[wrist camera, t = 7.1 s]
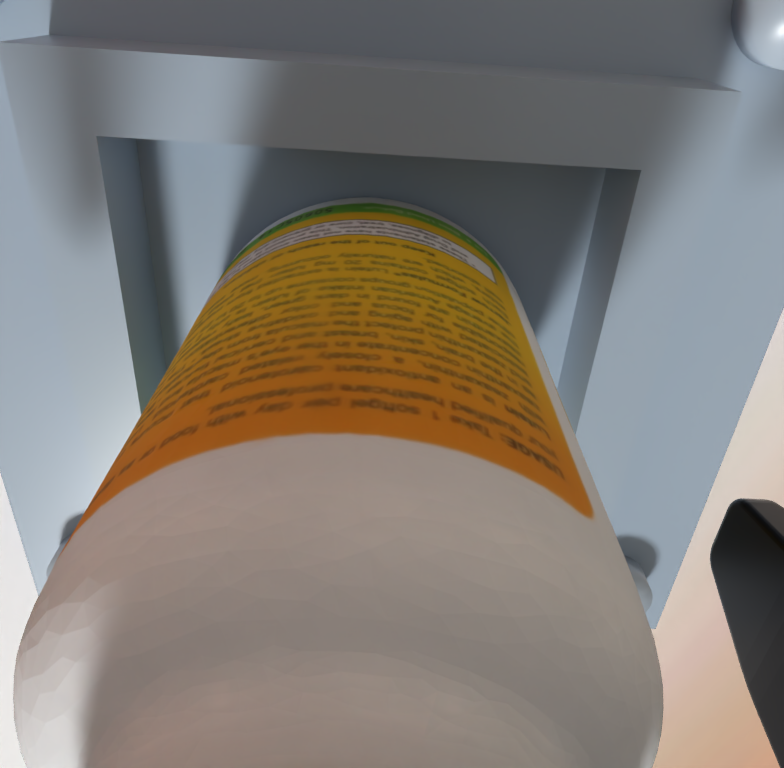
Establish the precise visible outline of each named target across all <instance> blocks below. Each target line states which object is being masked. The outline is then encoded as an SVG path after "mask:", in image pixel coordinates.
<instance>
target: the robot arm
mask: <svg viewBox="0 0 784 768" xmlns="http://www.w3.org/2000/svg"><path fill="white" fill-rule="evenodd" d="M710 562H711V568H712V572H713V576H714V579H715V582H716V586H717V589H718V592H719V596H720V599H721V602H722V606H723V609H724V612H725V616H726V619H727V622H728V626H729V629H730V633H731V636H732V639H733V643H734V646H735V649H736V653H737V656H738V659H739V663H740V666H741V669H742V672H743V675H744V678H745V681H746V684H747V687H748V690H749V692H750V695H751V697H752V700H753V703H754V705H755V708H756V710H757V713H758V715H759V717H760V720H761V722H762V725H763V727H764V729H765V732H766V734H767V737H768V739H769V741H770V744H771V746H772V749H773V751H774V754H775V756H776V758H777V761H778V763H779V766H780V768H784V508H783V507H781V506H780V505H778V504H777V503H775V502H773V501H770V500H763V499H737V500H735V501H733V502H732V503H731V504H730V506H729V507H728V509H727V512H726V514H725V517H724V519H723V521H722V524H721V526H720V528H719V531H718V533H717V535H716V538H715V540H714V543H713V545H712V548H711V553H710Z"/></svg>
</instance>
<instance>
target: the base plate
mask: <svg viewBox="0 0 784 768" xmlns="http://www.w3.org/2000/svg"><path fill="white" fill-rule="evenodd" d="M356 197H373V198H382V199H390V200H396V201H401V202H405V203H409V204H413V205H416V206H419V207H421V208H424V209H427V210H430V211H432V212H434V213H436V214H438V215H440V216H442V217H444V218H446V219H448V220H450V221H451V222H453V223H455V224H457V225H458V226H460V227H461V228H463V229H464V230H465V231H467V232H468V233H469V234H471V235H472V236H473V237H474V238H476V239H477V240H478V241H479V242H480V243H481V244H483V245H484V246H485V247H486V248H487V249H488V250H489V252H490V253H491V254H492V255H493V256H494V257H495V258H496V259H497V261H498V262H499V263H500V264H501V266H502V267H503V269H504V270H505V272H506V274H507V275H508V277H509V279H510V281H511V282H512V284H513V286H514V288H515V289H516V291H517V294H518V296H519V298H520V300H521V303H522V305H523V307H524V310H525V312H526V315H527V317H528V320H529V322H530V325H531V327H532V329H533V331H534V334H535V337H536V339H537V342H538V344H539V346H540V349H541V352H542V354H543V357H544V359H545V361H546V364H547V367H548V369H549V372H550V374H551V377H552V379H553V382H554V384H555V387H556V389H557V392H558V394H559V397H560V399H561V402H562V404H563V407H564V409H565V412H566V414H567V417H568V419H569V422H570V424H571V427H572V429H573V432H574V434H575V437H576V439H577V442H578V444H579V446H580V449H581V451H582V454H583V456H584V459H585V461H586V464H587V466H588V468H589V471H590V473H591V476H592V478H593V481H594V483H595V486H596V488H597V491H598V493H599V496H600V498H601V501H602V503H603V506H604V508H605V511H606V513H607V515H608V518H609V520H610V522H611V525H612V527H613V530H614V532H615V535H616V537H617V540H618V542H619V545H620V547H621V549H622V552H623V554H624V557H625V559H626V562H627V564H628V567H629V569H630V572H631V575H632V577H633V580H634V582H635V585H636V587H637V590H638V593H639V596H640V599H641V602H642V605H643V608H644V611H645V614H646V617H647V620H648V623H649V626H650V629H656V626H657V624H658V621H659V619H660V616H661V614H662V611H663V609H664V606H665V604H666V601H667V599H668V596H669V594H670V591H671V589H672V586H673V584H674V581H675V579H676V576H677V574H678V571H679V569H680V566H681V564H682V561H683V559H684V556H685V553H686V551H687V548H688V546H689V543H690V541H691V538H692V536H693V533H694V531H695V528H696V526H697V523H698V521H699V518H700V516H701V513H702V511H703V508H704V506H705V503H706V501H707V498H708V496H709V493H710V491H711V488H712V486H713V483H714V481H715V478H716V476H717V473H718V471H719V468H720V466H721V463H722V461H723V458H724V456H725V453H726V451H727V448H728V446H729V443H730V441H731V438H732V436H733V433H734V431H735V428H736V426H737V423H738V420H739V418H740V415H741V413H742V410H743V408H744V405H745V403H746V400H747V398H748V395H749V393H750V390H751V388H752V385H753V383H754V380H755V378H756V375H757V373H758V370H759V368H760V365H761V363H762V360H763V358H764V355H765V353H766V350H767V348H768V345H769V343H770V340H771V338H772V335H773V333H774V330H775V328H776V325H777V323H778V320H779V318H780V315H781V313H782V310H783V308H784V0H0V473H1V476H2V479H3V482H4V486H5V489H6V492H7V495H8V499H9V502H10V505H11V508H12V511H13V515H14V518H15V521H16V524H17V528H18V531H19V534H20V537H21V541H22V544H23V547H24V550H25V554H26V557H27V560H28V563H29V566H30V570H31V573H32V576H33V579H34V583H35V586H36V589H37V592H38V596H39V595H40V593H41V591H42V589H43V587H44V585H45V583H46V581H47V579H48V577H49V575H50V573H51V571H52V569H53V566H54V564H55V562H56V560H57V559H58V557H59V555H60V554H61V552H62V550H63V548H64V547H65V545H66V543H67V542H68V540H69V538H70V537H71V535H72V533H73V531H74V530H75V528H76V526H77V525H78V523H79V521H80V520H81V518H82V516H83V514H84V513H85V511H86V509H87V508H88V506H89V504H90V502H91V501H92V499H93V497H94V495H95V494H96V492H97V490H98V489H99V487H100V485H101V483H102V482H103V480H104V478H105V476H106V475H107V473H108V471H109V470H110V468H111V466H112V464H113V463H114V461H115V459H116V458H117V456H118V454H119V453H120V451H121V449H122V448H123V446H124V444H125V443H126V441H127V439H128V437H129V436H130V434H131V432H132V430H133V429H134V427H135V425H136V423H137V422H138V420H139V418H140V416H141V415H142V413H143V411H144V409H145V408H146V406H147V404H148V403H149V401H150V399H151V397H152V396H153V394H154V392H155V390H156V389H157V387H158V385H159V383H160V382H161V380H162V378H163V376H164V375H165V373H166V371H167V370H168V368H169V366H170V364H171V363H172V361H173V359H174V358H175V356H176V354H177V352H178V351H179V349H180V347H181V346H182V344H183V342H184V340H185V338H186V337H187V335H188V333H189V331H190V329H191V328H192V326H193V324H194V322H195V321H196V319H197V317H198V316H199V314H200V312H201V310H202V308H203V307H204V305H205V303H206V301H207V299H208V298H209V296H210V294H211V293H212V291H213V289H214V287H215V286H216V284H217V282H218V281H219V279H220V277H221V276H222V274H223V273H224V271H225V270H226V269H227V267H228V266H229V265H230V263H231V262H232V261H233V259H234V258H235V257H236V255H237V254H238V253H239V252H240V251H241V250H242V249H243V248H244V247H245V246H246V245H247V244H248V243H249V242H250V241H251V240H252V239H253V238H254V237H255V236H256V235H258V234H259V233H260V232H262V231H263V230H264V229H265V228H267V227H268V226H270V225H271V224H273V223H274V222H276V221H278V220H279V219H281V218H284V217H286V216H288V215H290V214H292V213H294V212H296V211H299V210H301V209H304V208H306V207H309V206H313V205H316V204H320V203H323V202H328V201H333V200H339V199H346V198H356Z"/></svg>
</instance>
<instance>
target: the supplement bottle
mask: <svg viewBox="0 0 784 768" xmlns="http://www.w3.org/2000/svg"><path fill="white" fill-rule="evenodd" d="M13 701H14V721H15V726H16V731H17V736H18V741H19V745H20V750H21V754H22V756H23V759H24V761H25V764H26V766H27V768H652V767H653V764H654V760H655V757H656V754H657V751H658V746H659V741H660V737H661V729H662V719H663V684H662V677H661V671H660V665H659V660H658V656H657V651H656V646H655V641H654V638H653V635H652V632H651V629H650V626H649V623H648V620H647V617H646V614H645V611H644V608H643V605H642V602H641V599H640V596H639V593H638V590H637V587H636V585H635V582H634V580H633V577H632V575H631V572H630V569H629V567H628V564H627V562H626V559H625V557H624V554H623V552H622V549H621V547H620V545H619V542H618V540H617V537H616V535H615V532H614V530H613V527H612V525H611V522H610V520H609V518H608V515H607V513H606V511H605V508H604V506H603V503H602V501H601V498H600V496H599V493H598V491H597V488H596V486H595V483H594V481H593V478H592V476H591V473H590V471H589V468H588V466H587V464H586V461H585V459H584V456H583V454H582V451H581V449H580V446H579V444H578V442H577V439H576V437H575V434H574V432H573V429H572V427H571V424H570V422H569V419H568V417H567V414H566V412H565V409H564V407H563V404H562V402H561V399H560V397H559V394H558V392H557V389H556V387H555V384H554V382H553V379H552V377H551V374H550V372H549V369H548V367H547V364H546V361H545V359H544V357H543V354H542V352H541V349H540V346H539V344H538V342H537V339H536V337H535V334H534V331H533V329H532V327H531V325H530V322H529V320H528V317H527V315H526V312H525V310H524V307H523V305H522V303H521V300H520V298H519V296H518V294H517V291H516V289H515V288H514V286H513V284H512V282H511V281H510V279H509V277H508V275H507V274H506V272H505V270H504V269H503V267H502V266H501V264H500V263H499V262H498V261H497V259H496V258H495V257H494V256H493V255H492V254H491V253H490V252H489V250H488V249H487V248H486V247H485V246H484V245H483V244H481V243H480V242H479V241H478V240H477V239H476V238H474V237H473V236H472V235H471V234H469V233H468V232H467V231H465V230H464V229H463V228H461V227H460V226H458V225H457V224H455V223H453V222H451V221H450V220H448V219H446V218H444V217H442V216H440V215H438V214H436V213H434V212H432V211H430V210H427V209H424V208H421V207H419V206H416V205H413V204H409V203H405V202H401V201H396V200H390V199H382V198H373V197H356V198H346V199H339V200H333V201H328V202H323V203H320V204H316V205H313V206H309V207H306V208H304V209H301V210H299V211H296V212H294V213H292V214H290V215H288V216H286V217H284V218H281V219H279V220H278V221H276V222H274V223H273V224H271V225H270V226H268V227H267V228H265V229H264V230H263V231H262V232H260V233H259V234H258V235H256V236H255V237H254V238H253V239H252V240H251V241H250V242H249V243H248V244H247V245H246V246H245V247H244V248H243V249H242V250H241V251H240V252H239V253H238V254H237V255H236V257H235V258H234V259H233V261H232V262H231V263H230V265H229V266H228V267H227V269H226V270H225V271H224V273H223V274H222V276H221V277H220V279H219V281H218V282H217V284H216V286H215V287H214V289H213V291H212V293H211V294H210V296H209V298H208V299H207V301H206V303H205V305H204V307H203V308H202V310H201V312H200V314H199V316H198V317H197V319H196V321H195V322H194V324H193V326H192V328H191V329H190V331H189V333H188V335H187V337H186V338H185V340H184V342H183V344H182V346H181V347H180V349H179V351H178V352H177V354H176V356H175V358H174V359H173V361H172V363H171V364H170V366H169V368H168V370H167V371H166V373H165V375H164V376H163V378H162V380H161V382H160V383H159V385H158V387H157V389H156V390H155V392H154V394H153V396H152V397H151V399H150V401H149V403H148V404H147V406H146V408H145V409H144V411H143V413H142V415H141V416H140V418H139V420H138V422H137V423H136V425H135V427H134V429H133V430H132V432H131V434H130V436H129V437H128V439H127V441H126V443H125V444H124V446H123V448H122V449H121V451H120V453H119V454H118V456H117V458H116V459H115V461H114V463H113V464H112V466H111V468H110V470H109V471H108V473H107V475H106V476H105V478H104V480H103V482H102V483H101V485H100V487H99V489H98V490H97V492H96V494H95V495H94V497H93V499H92V501H91V502H90V504H89V506H88V508H87V509H86V511H85V513H84V514H83V516H82V518H81V520H80V521H79V523H78V525H77V526H76V528H75V530H74V531H73V533H72V535H71V537H70V538H69V540H68V542H67V543H66V545H65V547H64V548H63V550H62V552H61V554H60V555H59V557H58V559H57V560H56V562H55V564H54V566H53V569H52V571H51V573H50V575H49V577H48V579H47V581H46V583H45V585H44V587H43V589H42V591H41V593H40V595H39V597H38V599H37V601H36V603H35V605H34V607H33V610H32V612H31V615H30V617H29V620H28V622H27V625H26V628H25V630H24V633H23V636H22V639H21V642H20V646H19V650H18V653H17V658H16V665H15V673H14V696H13Z"/></svg>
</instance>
